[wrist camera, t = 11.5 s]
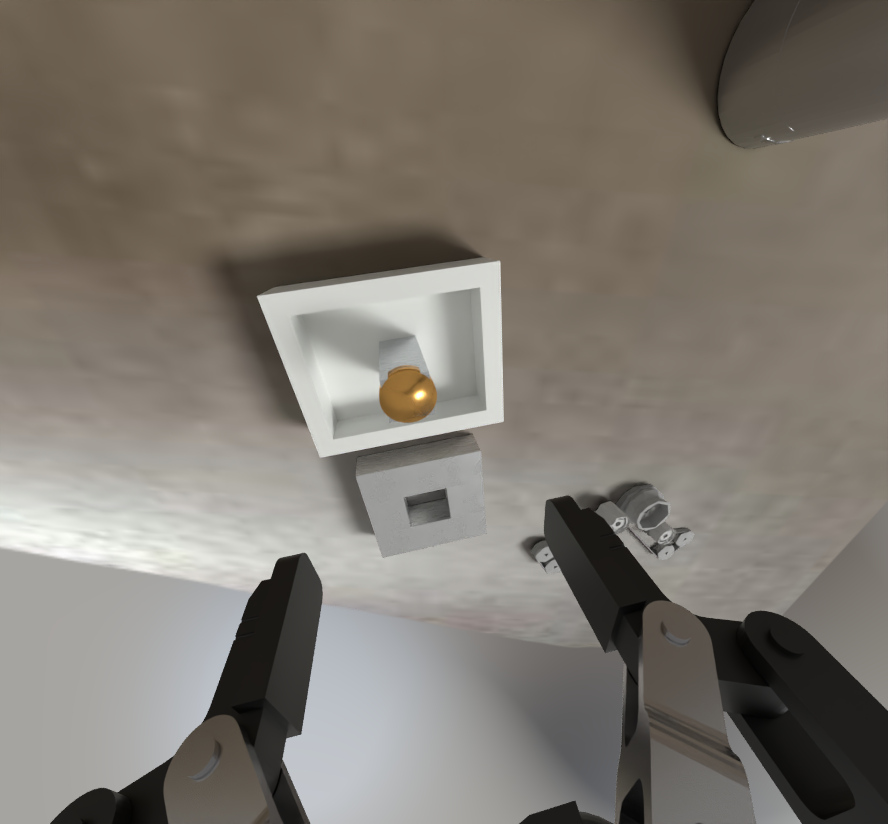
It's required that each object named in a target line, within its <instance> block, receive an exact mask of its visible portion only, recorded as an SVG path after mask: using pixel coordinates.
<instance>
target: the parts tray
mask: <svg viewBox="0 0 888 824" xmlns="http://www.w3.org/2000/svg"><path fill="white" fill-rule="evenodd" d="M257 298H258V300H259V303H260V306H261V308H262V311H263V313H264V316H265V318H266V321H267V323H268V326H269V328H270V331H271V334H272V336H273V339H274V341H275V344H276V346H277V349H278V351H279V354H280V357H281V359H282V362H283V364H284V367H285V369H286V372H287V374H288V377H289V379H290V382H291V385H292V387H293V390H294V392H295V395H296V397H297V400H298V402H299V405H300V407H301V410H302V413H303V415H304V418H305V420H306V423H307V425H308V428H309V430H310V433H311V435H312V438H313V441H314V443H315V446H316V448H317V451H318V453H319V456H320V458H322V457H327V456H332V455H337V454H342V453H347V452H352V451H357V450H362V449H367V448H372V447H377V446H383V445H388V444H393V443H398V442H403V441H408V440H413V439H418V438H423V437H428V436H433V435H438V434H443V433H448V432H453V431H458V430H463V429H469V428H474V427H479V426H484V425H489V424H494V423H499V422H504V415H503V368H502V321H501V274H500V261H499V260H494V259H489V258H485V257H481V258H474V259H467V260H460V261H453V262H446V263H439V264H432V265H425V266H418V267H411V268H404V269H397V270H390V271H383V272H376V273H369V274H362V275H355V276H348V277H341V278H334V279H327V280H320V281H313V282H306V283H299V284H292V285H285V286H278V287H274V288H272V289H270V290H268V291H266V292H264V293H262V294H260V295H258V296H257ZM410 336H416V338H417V341H418V344H419V346H420V349H421V352H422V355H423V357H424V360H425V363H426V365H427V368H428V371H429V375H430V377H431V378H432V380H433V383H434V385H435V388H436V391H437V401H436V404H435V407H434V410H435V414H433V415H428V416H426V417H425V418H423V419H421V420H419V421H416V422H412V423H402V422H398V421H396V422H391V423H389V419H388V416H387V415H386V414H385V413H384V411H383V410H382V408H381V406H380V402H379V386H380V381H379V341H385V340H391V339H397V338H403V337H410Z"/></svg>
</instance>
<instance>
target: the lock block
mask: <svg viewBox="0 0 888 824" xmlns="http://www.w3.org/2000/svg"><path fill="white" fill-rule="evenodd" d="M356 479H357V482H358V485H359V488H360V491H361V494H362V497H363V500H364V503H365V506H366V509H367V512H368V515H369V518H370V521H371V524H372V527H373V530H374V533H375V536H376V539H377V542H378V545H379V548H380V551H381V554H382V557H383V558H384V557H389V556H393V555H397V554H401V553H406V552H410V551H414V550H419V549H423V548H427V547H431V546H436V545H440V544H444V543H449V542H453V541H457V540H461V539H466V538H470V537H474V536H479V535H483V534H486V520H485V505H484V490H483V475H482V461H481V450H480V448H479V446H478V444H477V442H476V440H475V438H474V435H473V434H470V435H465V436H460V437H455V438H450V439H445V440H440V441H435V442H430V443H425V444H420V445H415V446H410V447H405V448H400V449H395V450H390V451H385V452H380V453H375V454H370V455H365V456H360V457H357V466H356ZM441 489H445V496H446V498H445V499H441V500H436V501H432V502H427V503H422V504H418V505H413V506H409V507H408V503H407V499H406V497H408V496H413V495H417V494H422V493H427V492H431V491H436V490H441Z"/></svg>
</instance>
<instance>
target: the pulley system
mask: <svg viewBox="0 0 888 824" xmlns="http://www.w3.org/2000/svg"><path fill="white" fill-rule="evenodd" d="M595 513H597V514H598V515H600V516H601V517H603V518H604V519H605V520H606V522H607V523H608V524H609V525H610V527H611V528H612V529H613V531H614V532H615V535H616V534H618V533H622V532H623V531H624V530H625V529H630V528H629V527H628V526H629V523H631V524H636V525H637V527H638V528H639V529H642V530H645V532H646V533H647V534H648V535H649V536H651V537H652V538H653V539H654V540H655V541H656V542H657V543H659V544H658V545H657V546H655V547H653V550H651V549H650V548H649V547H648V546H647V545H646V544H645V543H644V542H643V541H642V540H641V539H640V538H639V537H638V536H637V535H636V534H635V533H634V532H633V531H632V530H631V529H630V530H631V531H632V532H633V533H634V534H635V535H636V536H637V537H638V538H639V539H640V541H641V542H642V543H643V544H644V545H645V546H646V547H647V548H648V549H649V550H650V551H651V552H652V553H653V554H654V555H655V556H656V557H657V558H658V559H660V560H666V559H667V558H669V557H670V556H672V554H673V553H674V552H675V551H676V550H678V549H679V548H680V547H682V546H684V545H685V544H687V543H689V542H691V540H692V538H693V536H694V533H693V532H692V531H691V530H690V529H688V528H681V529H673V528H672V527H670V526H669V525H668V524H667V523H666V522H665V520H666V519H667V517H668V516H669V514H670V503H669V502H666V501H665V500H664V496H663V494H662V493H661V492H659V491H658V490H657V489H656V487H654V486H652V485H651V484H647V485H640V486H635V487H633V488H631V489H630V490H628V491H627V492H625V493H624V494H623V495H622V497H621V498H620V499H619V500H618V502H617V503H616V504H614V503H613V502H611V501H609V502H606V503H603V504H601V505H600V506H599V508H598V509H597V511H596V512H595ZM672 540H673V541H674V542H675V543H676V544H674V545H671V544H670V542H671V541H672ZM531 552H532V554H533V555H534V557H535V559H536V560H537V562H538V563H539V564H540V565H541V566H542V568H543V569H544V570H545V571H546V573H547V574H554V573H559V572H560V571H561V569H560V568H559V566H558V564H557V562H556V560H555V558H554V556H553V555H552V553H551V551H550V549H549V547H548V545H547V542H546V541H539V542H538V543H537V544H536V545H535V546H534V547H533V549H532V550H531ZM541 562H542V563H541Z"/></svg>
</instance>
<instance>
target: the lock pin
mask: <svg viewBox="0 0 888 824" xmlns="http://www.w3.org/2000/svg"><path fill="white" fill-rule="evenodd" d="M379 381H380V386H379V402H380V406H381V408H382V410H383V411H384V413H385V414H386V415H387V416H388V419H389V423H391V422H396V421H398V422H402V423H412V422H416V421H419V420H421V419H423V418H425V417H426V416H428V415H433V414H435V410H434V407H435V404H436V401H437V391H436V388H435V385H434V383H433V380H432V378H431V377H430V375H429V371H428V368H427V365H426V363H425V360H424V357H423V355H422V352H421V349H420V346H419V344H418V341H417V338H416V336H410V337H403V338H397V339H391V340H385V341H379Z"/></svg>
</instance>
